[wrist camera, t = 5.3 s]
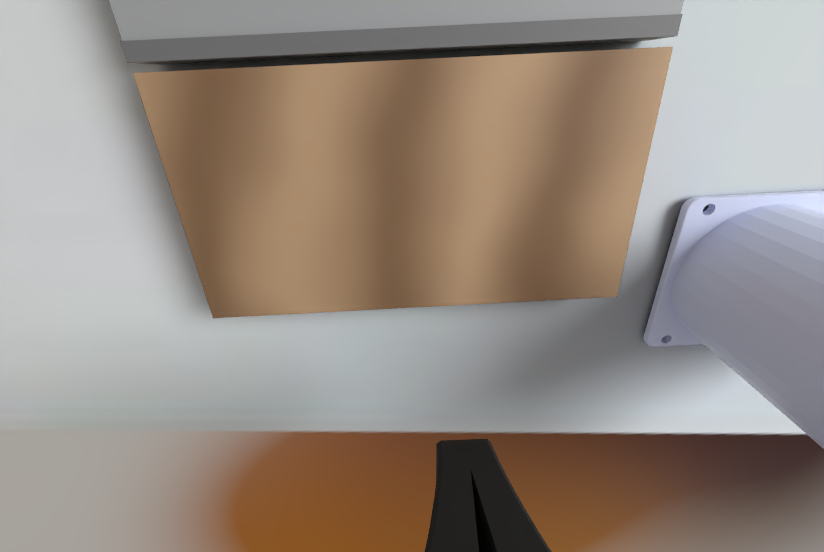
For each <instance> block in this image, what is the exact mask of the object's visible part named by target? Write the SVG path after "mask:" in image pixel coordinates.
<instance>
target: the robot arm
mask: <svg viewBox="0 0 824 552" xmlns="http://www.w3.org/2000/svg"><path fill="white" fill-rule="evenodd" d="M708 204H709V207H708V208H707V210H706V211H704V212H703V209H704V207H705V206H706V205H708ZM664 336H666V337H664ZM663 337H664V338H663ZM644 341H645V342H646V343H647V345H649V346H650V347H663V346H682V345H700V344H704V345H705V346H707V347H708V348H709V349H710V350H711V351H712V352H713V353H715V354H716V355H717V356H718V357H719V358H720V359H721V360H723V361H724V362H725V363H726V364H727V365H728V366H729V367H731V368H732V369H733V370H734V371H735V372H736V373H737V374H739V375H740V376H741V377H742V378H743V379H744V380H746V381H747V382H748V383H749V384H750V385H751V386H752V387H754V388H755V389H756V390H757V391H758V392H759V393H760V394H762V395H763V396H764V397H765V398H766V399H767V400H768V401H770V402H771V403H772V404H773V405H774V406H775V407H776V408H778V409H779V410H780V411H781V412H782V413H783V414H785V415H786V416H787V417H788V418H789V419H790V420H791V421H793V422H794V423H795V424H796V425H797V426H798V427H799V428H801V429H802V430H803V431H804V432H805V433H806V434H807V435H809V436H810V437H811V438H812V439H813V440H814V441H815V442H817V443H818V444H819V445H820V446H821V447H822V448H824V190H816V191H797V192H777V193H758V194H739V195H719V196H700V197H692V198H690V199H688V200H686V202H685V203H684V204H683V205H682V207H681V210H680V214H679V217H678V220H677V224H676V227H675V231H674V234H673V237H672V241H671V244H670V248H669V251H668V255H667V258H666V261H665V265H664V268H663V272H662V275H661V279H660V282H659V285H658V289H657V292H656V296H655V299H654V303H653V306H652V309H651V313H650V316H649V320H648V323H647V326H646V330H645V333H644ZM436 456H437V457H436V459H437V460H436V463H437V464H436V466H437V467H436V469H437V470H436V490H435V498H434V504H433V510H432V517H431V523H430V529H429V534H428V539H427V544H426V548H425V552H551V550H550V549H549V547H548V546H547V544H546V543H545V541H544V540H543V538H542V536H541V535H540V533H539V532H538V530H537V528H536V527H535V525H534V523H533V522H532V520H531V518H530V517H529V515H528V513H527V512H526V510H525V508H524V507H523V505H522V503H521V501H520V500H519V498H518V496H517V494H516V492H515V491H514V489H513V487H512V485H511V483H510V481H509V479H508V478H507V476H506V474H505V472H504V470H503V468H502V466H501V464H500V462H499V460H498V458H497V456H496V453H495V451H494V449H493V447H492V444H491V442H490V441H489V440H488V439H472V440H448V441H440V442H439V443H437V455H436Z"/></svg>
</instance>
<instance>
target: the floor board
mask: <svg viewBox="0 0 824 552" xmlns="http://www.w3.org/2000/svg"><path fill="white" fill-rule="evenodd" d="M683 1H684V0H109V3H110V6H111V9H112V12H113V15H114V18H115V21H116V24H117V27H118V30H119V33H120V36H121V38H122V41H121V44H122V47H123V50H124V53H125V56H126V59H127V62H128V63H144V64H169V63H190V62H210V61H231V60H252V59H272V58H293V57H313V56H334V55H355V54H375V53H396V52H417V51H437V50H458V49H479V48H499V47H520V46H541V45H561V44H582V43H602V42H623V41H644V40H654V39H660V38H667V37H674V36H677V35H678V31H679V26H680V22H681V18H682V14H681V10H682V6H683Z"/></svg>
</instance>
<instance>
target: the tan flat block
mask: <svg viewBox="0 0 824 552" xmlns="http://www.w3.org/2000/svg"><path fill="white" fill-rule="evenodd" d="M672 49H673V47H658V48H637V49H617V50H596V51H575V52H555V53H534V54H514V55H493V56H473V57H452V58H431V59H411V60H390V61H370V62H349V63H328V64H308V65H287V66H267V67H246V68H226V69H205V70H184V71H164V72H143V73H133V74H134V78H135V81H136V84H137V87H138V90H139V93H140V96H141V99H142V102H143V105H144V108H145V111H146V114H147V117H148V120H149V123H150V127H151V130H152V133H153V136H154V139H155V142H156V145H157V148H158V151H159V154H160V157H161V160H162V163H163V166H164V169H165V172H166V176H167V179H168V182H169V185H170V188H171V191H172V194H173V197H174V200H175V203H176V206H177V209H178V212H179V215H180V218H181V221H182V225H183V228H184V231H185V234H186V237H187V240H188V243H189V246H190V249H191V252H192V255H193V258H194V261H195V264H196V267H197V270H198V274H199V277H200V280H201V283H202V286H203V289H204V292H205V295H206V298H207V301H208V304H209V307H210V310H211V313H212V316H213V318H223V317H242V316H261V315H280V314H299V313H317V312H336V311H355V310H374V309H393V308H411V307H430V306H449V305H468V304H486V303H505V302H524V301H543V300H562V299H580V298H599V297H617V294H618V290H619V285H620V281H621V276H622V272H623V267H624V263H625V258H626V254H627V249H628V245H629V240H630V236H631V232H632V227H633V223H634V218H635V214H636V209H637V205H638V200H639V196H640V191H641V187H642V183H643V178H644V174H645V169H646V165H647V160H648V156H649V151H650V147H651V142H652V138H653V133H654V129H655V125H656V120H657V116H658V111H659V107H660V102H661V98H662V93H663V89H664V84H665V80H666V76H667V71H668V67H669V62H670V58H671V53H672Z"/></svg>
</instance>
